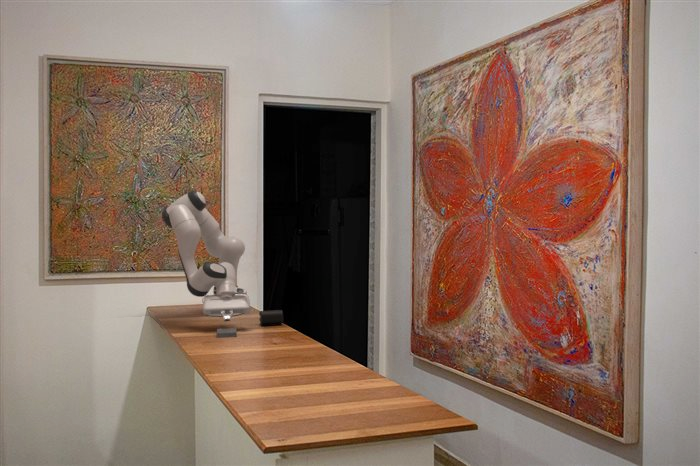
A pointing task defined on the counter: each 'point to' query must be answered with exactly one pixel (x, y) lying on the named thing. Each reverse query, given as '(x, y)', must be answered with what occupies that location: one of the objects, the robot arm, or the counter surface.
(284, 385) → the counter surface
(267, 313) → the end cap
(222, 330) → the slate tile
